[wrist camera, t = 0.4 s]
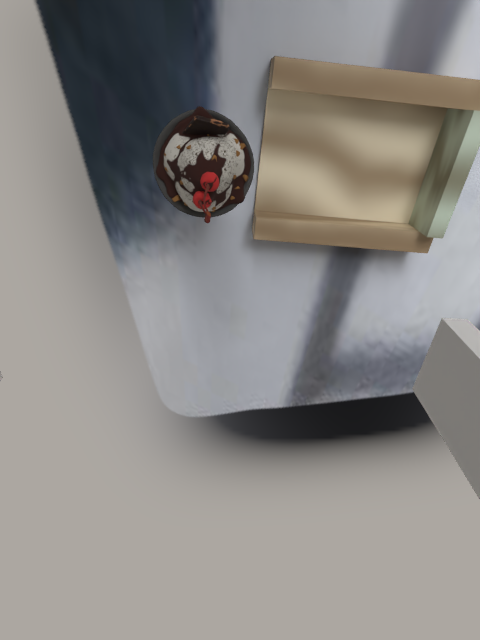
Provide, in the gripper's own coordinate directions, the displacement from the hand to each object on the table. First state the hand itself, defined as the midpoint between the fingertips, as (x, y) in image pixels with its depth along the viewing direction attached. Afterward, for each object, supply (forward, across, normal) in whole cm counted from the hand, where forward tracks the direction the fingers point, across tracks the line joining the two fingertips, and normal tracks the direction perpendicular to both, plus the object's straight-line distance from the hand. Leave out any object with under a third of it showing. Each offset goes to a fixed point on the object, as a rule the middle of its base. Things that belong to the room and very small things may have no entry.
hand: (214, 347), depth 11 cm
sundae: (+27, -1, +2) cm, 27 cm away
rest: (+27, +12, +2) cm, 30 cm away
